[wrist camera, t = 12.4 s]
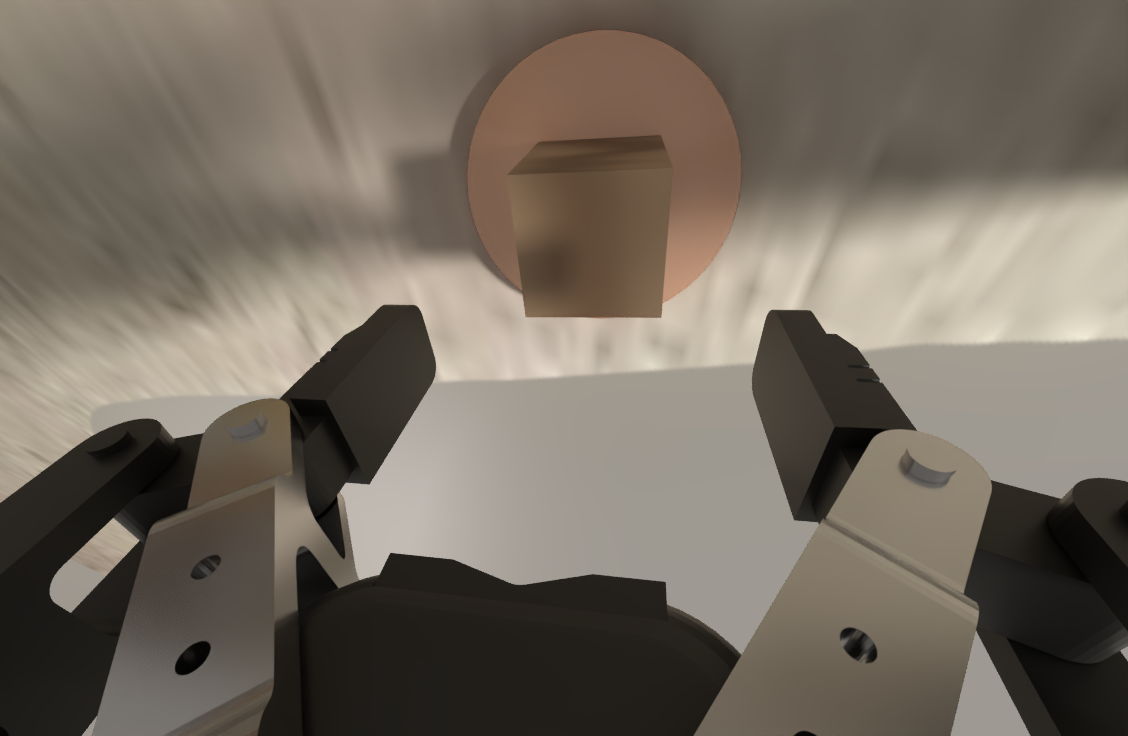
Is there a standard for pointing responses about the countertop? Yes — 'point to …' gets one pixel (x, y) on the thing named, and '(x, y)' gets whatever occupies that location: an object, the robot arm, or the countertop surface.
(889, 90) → the countertop surface
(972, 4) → the countertop surface
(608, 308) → the walnut block
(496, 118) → the dish
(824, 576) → the robot arm
